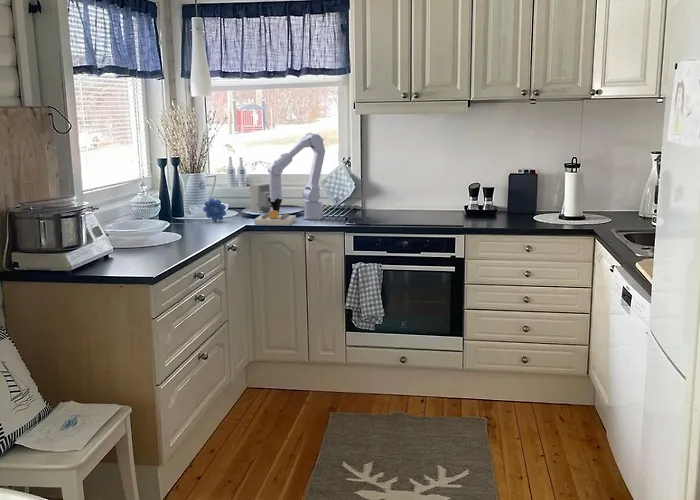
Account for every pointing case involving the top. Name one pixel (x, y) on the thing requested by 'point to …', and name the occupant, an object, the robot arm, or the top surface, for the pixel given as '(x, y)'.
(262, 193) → the circuit breaker
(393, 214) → the top surface
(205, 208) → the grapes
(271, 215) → the lever
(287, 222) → the panel
